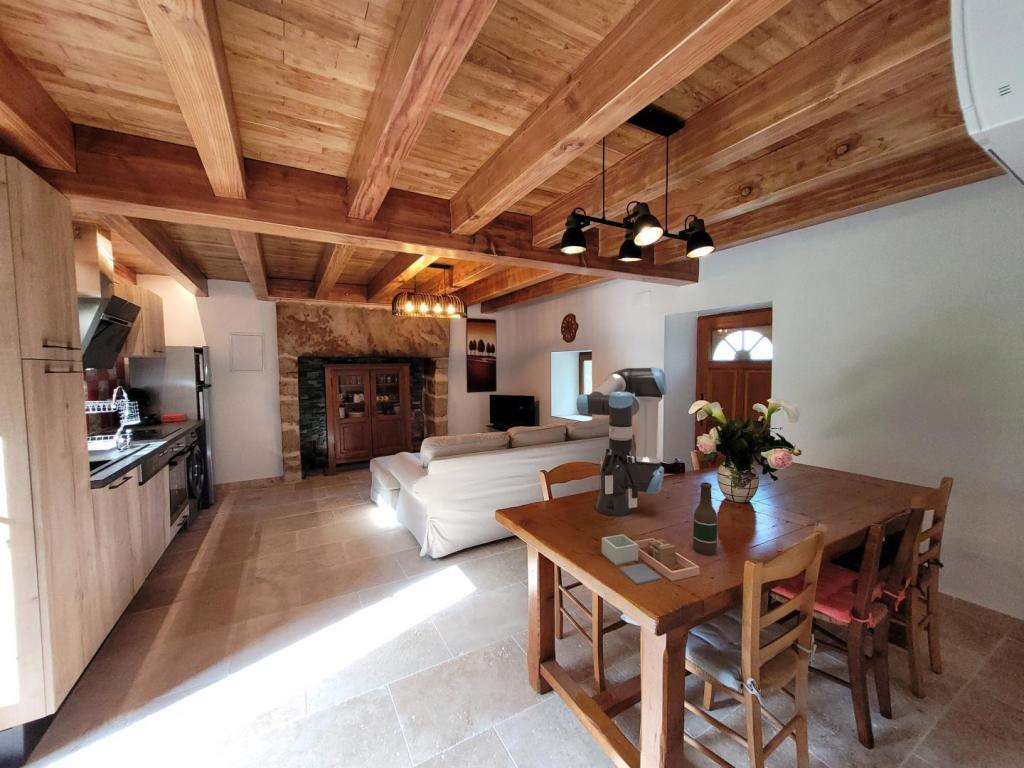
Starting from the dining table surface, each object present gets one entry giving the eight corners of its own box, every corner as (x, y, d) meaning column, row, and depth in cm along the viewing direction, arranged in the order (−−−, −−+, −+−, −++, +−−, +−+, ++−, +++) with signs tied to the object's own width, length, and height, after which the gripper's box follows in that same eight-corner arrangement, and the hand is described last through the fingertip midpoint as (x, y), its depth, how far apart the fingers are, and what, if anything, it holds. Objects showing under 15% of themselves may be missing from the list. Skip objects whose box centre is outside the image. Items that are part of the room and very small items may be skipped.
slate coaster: (619, 569, 122) (619, 567, 122) (642, 565, 125) (642, 563, 125) (637, 584, 114) (637, 582, 114) (661, 579, 117) (661, 577, 117)
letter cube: (647, 558, 129) (648, 541, 129) (662, 556, 131) (662, 538, 131) (660, 567, 124) (660, 548, 123) (675, 564, 126) (675, 546, 125)
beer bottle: (710, 558, 129) (711, 488, 128) (688, 549, 136) (689, 482, 135) (721, 551, 134) (723, 483, 133) (699, 543, 140) (700, 478, 139)
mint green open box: (601, 553, 133) (601, 537, 133) (622, 549, 136) (622, 534, 136) (616, 565, 125) (616, 548, 125) (638, 560, 128) (638, 544, 128)
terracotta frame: (628, 549, 136) (628, 542, 136) (652, 544, 139) (652, 537, 139) (671, 581, 116) (672, 572, 116) (699, 574, 119) (699, 566, 119)
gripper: (591, 432, 139) (591, 489, 141) (634, 446, 116) (634, 515, 117) (609, 431, 142) (609, 487, 143) (654, 444, 118) (654, 511, 119)
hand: (620, 500), depth 130 cm, fingers open, 13 cm apart
